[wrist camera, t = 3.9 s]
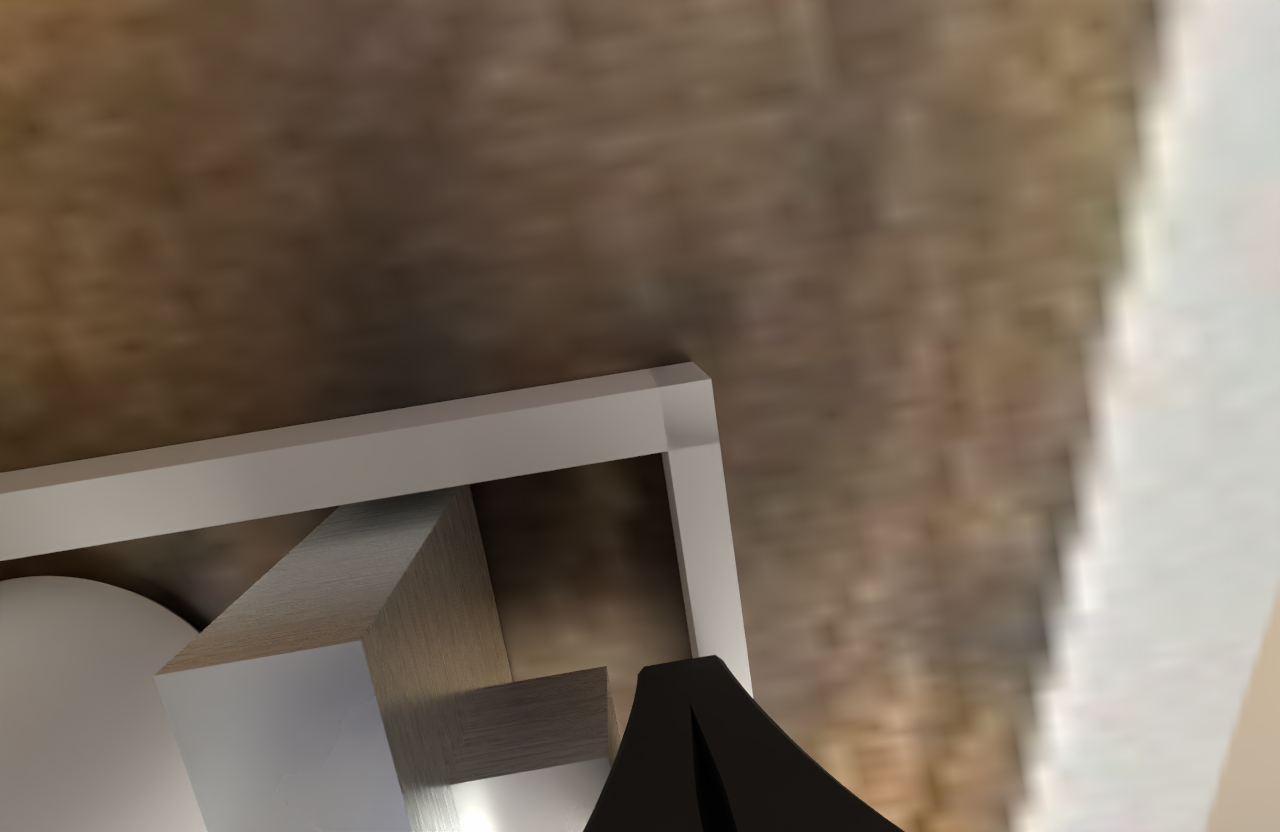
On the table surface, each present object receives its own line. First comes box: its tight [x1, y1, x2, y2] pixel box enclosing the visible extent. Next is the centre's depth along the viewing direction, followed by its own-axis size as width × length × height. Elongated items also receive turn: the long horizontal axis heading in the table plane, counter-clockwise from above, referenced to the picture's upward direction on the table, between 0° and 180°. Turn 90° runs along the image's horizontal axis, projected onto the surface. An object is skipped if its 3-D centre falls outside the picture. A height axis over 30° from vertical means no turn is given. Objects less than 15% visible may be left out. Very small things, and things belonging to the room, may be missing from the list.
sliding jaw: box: [153, 484, 621, 832], centre depth 10 cm, size 4×7×6 cm, turn 9°
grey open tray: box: [0, 362, 753, 698], centre depth 10 cm, size 19×10×6 cm, turn 99°
